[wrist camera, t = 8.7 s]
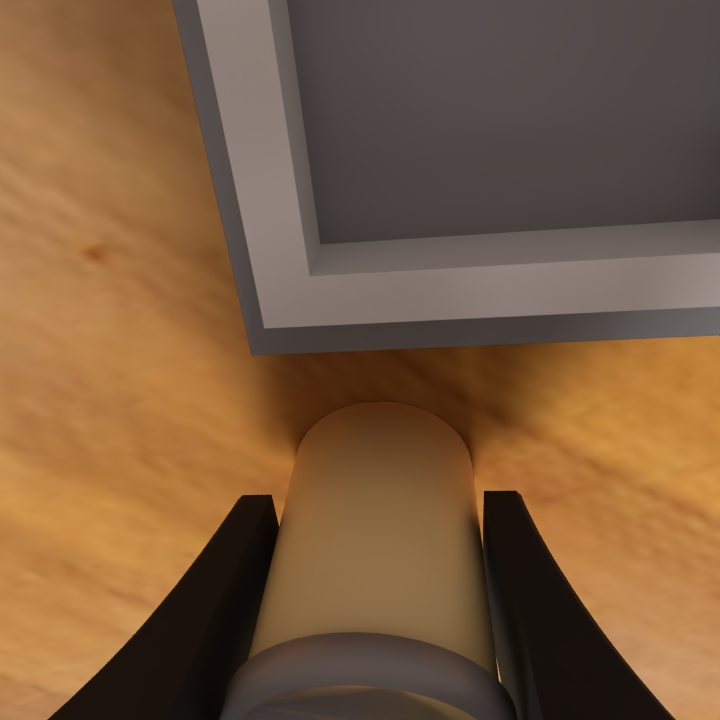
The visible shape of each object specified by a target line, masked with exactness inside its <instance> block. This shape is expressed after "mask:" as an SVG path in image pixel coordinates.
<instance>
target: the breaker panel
mask: <svg viewBox="0 0 720 720" xmlns="http://www.w3.org/2000/svg"><path fill="white" fill-rule="evenodd" d="M172 2H173V6H174V11H175V15H176V20H177V24H178V29H179V33H180V37H181V42H182V46H183V51H184V55H185V60H186V64H187V69H188V73H189V78H190V82H191V86H192V91H193V95H194V100H195V104H196V109H197V113H198V118H199V122H200V127H201V131H202V135H203V140H204V144H205V149H206V153H207V158H208V162H209V167H210V171H211V176H212V180H213V184H214V189H215V193H216V198H217V202H218V207H219V211H220V216H221V220H222V225H223V229H224V233H225V238H226V242H227V247H228V251H229V256H230V260H231V265H232V269H233V274H234V278H235V282H236V287H237V291H238V296H239V300H240V305H241V309H242V314H243V318H244V323H245V327H246V332H247V336H248V340H249V345H250V349H251V354H252V356H255V355H278V354H301V353H324V352H347V351H370V350H393V349H416V348H439V347H462V346H485V345H508V344H531V343H554V342H577V341H600V340H623V339H646V338H669V337H692V336H715V335H720V0H172Z"/></svg>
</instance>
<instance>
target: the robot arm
mask: <svg viewBox="0 0 720 720" xmlns="http://www.w3.org/2000/svg"><path fill="white" fill-rule="evenodd" d="M278 531H279V524H278V520H277V516H276V512H275V508H274V503H273V499H272V495H243V496H241V497H240V498H239V499H238V501H237V502H236V504H235V505H234V507H233V508H232V510H231V511H230V512H229V514H228V515H227V517H226V518H225V520H224V521H223V523H222V524H221V525H220V527H219V528H218V530H217V531H216V533H215V534H214V535H213V537H212V538H211V539H210V541H209V542H208V544H207V545H206V546H205V548H204V549H203V551H202V552H201V553H200V555H199V556H198V557H197V558H196V560H195V561H194V562H193V564H192V565H191V566H190V568H189V569H188V570H187V572H186V573H185V574H184V576H183V577H182V578H181V580H180V581H179V582H178V583H177V585H176V586H175V587H174V588H173V590H172V591H171V592H170V593H169V594H168V596H167V597H166V598H165V599H164V600H163V602H162V603H161V604H160V605H159V606H158V608H157V609H156V610H155V611H154V612H153V613H152V615H151V616H150V617H149V618H148V619H147V621H146V622H145V623H144V624H143V625H142V626H141V627H140V629H139V630H138V631H137V632H136V633H135V634H134V635H133V636H132V637H131V639H130V640H129V641H128V642H127V643H126V644H125V645H124V646H123V647H122V648H121V649H120V650H119V651H118V652H117V653H116V654H115V655H114V657H113V658H112V659H111V660H110V661H109V662H108V663H107V664H106V665H105V666H104V667H103V668H102V669H101V670H100V671H99V672H98V673H97V674H96V675H95V676H94V677H93V678H92V679H91V680H89V681H88V682H87V683H86V684H85V685H84V686H83V687H82V688H81V689H80V690H79V691H78V692H77V693H76V694H75V695H74V696H73V697H72V698H71V699H70V700H69V701H68V702H66V703H65V704H64V705H63V706H62V707H61V708H60V709H59V710H58V711H57V712H55V713H54V714H53V715H52V716H51V717H50V718H49V719H48V720H219V718H220V714H221V710H222V706H223V702H224V698H225V694H226V690H227V687H228V684H229V682H230V680H231V678H232V676H233V675H234V674H235V672H236V671H237V670H238V669H239V667H240V666H242V665H243V664H244V663H245V662H246V661H248V657H249V653H250V648H251V644H252V640H253V636H254V632H255V627H256V623H257V619H258V615H259V611H260V606H261V602H262V598H263V594H264V590H265V585H266V581H267V577H268V573H269V569H270V565H271V560H272V556H273V552H274V548H275V544H276V539H277V535H278ZM483 557H484V565H485V573H486V581H487V589H488V597H489V605H490V613H491V621H492V630H493V638H494V646H495V653H496V658H497V663H498V668H499V673H500V678H501V683H502V685H503V686H504V688H505V689H506V690H507V691H508V693H509V694H510V696H511V698H512V700H513V702H514V705H515V708H516V711H517V717H518V720H675V718H674V717H673V716H672V715H671V714H670V713H669V712H668V711H667V710H666V709H665V708H664V706H663V705H662V704H661V703H660V702H659V701H658V699H657V698H656V697H655V696H654V695H653V694H652V692H651V691H650V690H649V689H648V688H647V687H646V685H645V684H644V683H643V682H642V681H641V680H640V678H639V677H638V676H637V675H636V673H635V672H634V671H633V670H632V669H631V667H630V666H629V665H628V664H627V662H626V661H625V660H624V659H623V657H622V656H621V655H620V654H619V652H618V651H617V650H616V648H615V647H614V646H613V645H612V643H611V642H610V641H609V639H608V638H607V637H606V635H605V634H604V633H603V631H602V630H601V629H600V627H599V626H598V624H597V623H596V622H595V620H594V619H593V617H592V616H591V615H590V613H589V612H588V610H587V609H586V608H585V606H584V605H583V603H582V602H581V600H580V599H579V597H578V596H577V594H576V593H575V591H574V590H573V588H572V587H571V585H570V584H569V582H568V580H567V579H566V577H565V576H564V574H563V572H562V571H561V569H560V568H559V566H558V565H557V563H556V561H555V560H554V558H553V556H552V555H551V553H550V551H549V550H548V548H547V546H546V544H545V542H544V541H543V539H542V537H541V535H540V534H539V532H538V530H537V528H536V526H535V524H534V522H533V520H532V518H531V516H530V514H529V512H528V510H527V508H526V506H525V503H524V501H523V499H522V496H521V495H520V494H519V493H518V492H517V491H484V514H483Z"/></svg>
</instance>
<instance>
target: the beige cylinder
mask: <svg viewBox="0 0 720 720" xmlns="http://www.w3.org/2000/svg"><path fill="white" fill-rule="evenodd" d="M219 720H518V717H517V711H516V708H515V705H514V702H513V700H512V698H511V696H510V694H509V693H508V691H507V690H506V689H505V688H504V686H503V685H502V684H501V683H500V682H499V678H498V670H497V662H496V654H495V646H494V638H493V630H492V621H491V613H490V605H489V597H488V589H487V581H486V573H485V565H484V557H483V549H482V541H481V533H480V525H479V517H478V509H477V501H476V493H475V485H474V477H473V469H472V461H471V457H470V453H469V451H468V449H467V447H466V444H465V443H464V441H463V440H462V438H461V437H460V435H459V434H458V433H457V432H456V431H455V430H454V429H453V428H452V427H451V426H450V425H449V424H447V423H446V422H445V421H444V420H442V419H440V418H439V417H437V416H436V415H434V414H432V413H430V412H428V411H426V410H423V409H421V408H418V407H415V406H412V405H407V404H403V403H397V402H389V401H373V402H363V403H358V404H353V405H349V406H346V407H343V408H340V409H338V410H336V411H333V412H331V413H329V414H328V415H326V416H325V417H323V418H321V419H320V420H319V421H318V422H317V423H315V424H314V425H313V426H312V427H311V428H310V429H309V431H308V432H307V433H306V434H305V436H304V438H303V439H302V441H301V443H300V445H299V448H298V451H297V456H296V460H295V464H294V468H293V472H292V477H291V481H290V485H289V489H288V493H287V497H286V502H285V506H284V510H283V514H282V518H281V523H280V527H279V531H278V535H277V539H276V544H275V548H274V552H273V556H272V560H271V565H270V569H269V573H268V577H267V581H266V585H265V590H264V594H263V598H262V602H261V606H260V611H259V615H258V619H257V623H256V627H255V632H254V636H253V640H252V644H251V648H250V653H249V657H248V661H246V662H245V663H244V664H243V665H242V666H240V667H239V669H238V670H237V671H236V672H235V674H234V675H233V676H232V678H231V680H230V682H229V684H228V687H227V690H226V694H225V698H224V702H223V706H222V710H221V714H220V718H219Z"/></svg>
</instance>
